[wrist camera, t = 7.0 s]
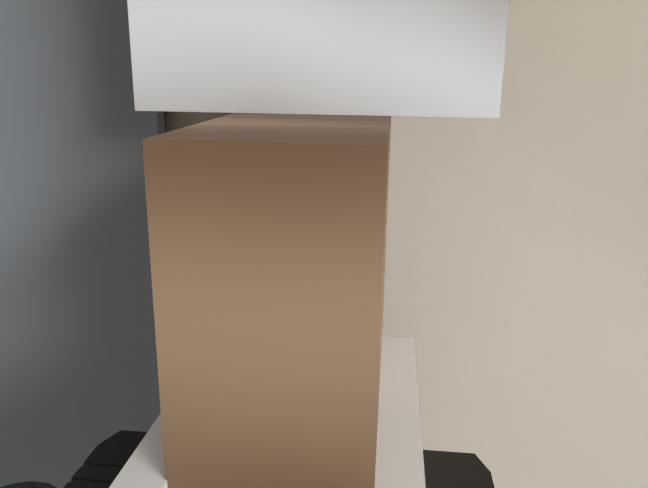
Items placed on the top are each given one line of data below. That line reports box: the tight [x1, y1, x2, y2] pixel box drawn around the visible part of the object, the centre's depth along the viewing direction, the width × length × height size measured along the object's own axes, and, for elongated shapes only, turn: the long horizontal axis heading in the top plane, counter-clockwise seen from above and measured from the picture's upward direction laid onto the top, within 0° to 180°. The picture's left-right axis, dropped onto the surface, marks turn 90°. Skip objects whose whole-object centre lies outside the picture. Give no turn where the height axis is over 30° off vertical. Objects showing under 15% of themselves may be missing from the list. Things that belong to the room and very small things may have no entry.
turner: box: [127, 0, 510, 488], centre depth 11 cm, size 20×7×6 cm, turn 179°
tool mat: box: [0, 0, 165, 488], centre depth 17 cm, size 22×8×1 cm, turn 179°
